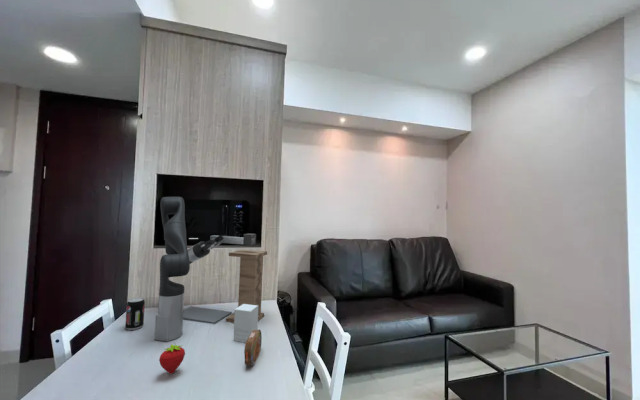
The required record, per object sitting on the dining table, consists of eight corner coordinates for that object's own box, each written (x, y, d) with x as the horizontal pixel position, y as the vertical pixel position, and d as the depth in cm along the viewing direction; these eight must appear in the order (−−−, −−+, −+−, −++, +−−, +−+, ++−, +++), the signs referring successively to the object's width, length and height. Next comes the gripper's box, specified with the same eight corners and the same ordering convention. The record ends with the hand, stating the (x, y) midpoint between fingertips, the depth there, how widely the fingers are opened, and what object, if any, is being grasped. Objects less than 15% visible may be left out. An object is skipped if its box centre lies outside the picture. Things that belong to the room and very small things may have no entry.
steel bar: (250, 245, 132) (251, 234, 132) (208, 242, 137) (209, 232, 138) (255, 244, 137) (256, 233, 137) (214, 241, 142) (215, 231, 143)
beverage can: (141, 329, 118) (143, 301, 118) (122, 331, 116) (124, 302, 116) (144, 323, 124) (146, 296, 125) (127, 325, 122) (129, 297, 122)
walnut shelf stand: (252, 325, 126) (255, 255, 127) (225, 321, 129) (228, 252, 131) (264, 316, 138) (267, 251, 139) (239, 312, 141) (241, 249, 142)
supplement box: (258, 335, 116) (259, 305, 117) (249, 343, 109) (250, 311, 110) (242, 333, 118) (243, 303, 119) (232, 340, 111) (234, 308, 112)
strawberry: (154, 375, 87) (156, 342, 87) (179, 365, 93) (180, 334, 93) (163, 382, 83) (164, 348, 84) (187, 371, 89) (189, 340, 89)
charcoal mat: (214, 324, 126) (214, 322, 126) (170, 317, 132) (170, 315, 132) (231, 313, 140) (231, 311, 140) (190, 307, 146) (191, 306, 146)
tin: (251, 370, 91) (252, 344, 91) (241, 370, 91) (243, 344, 91) (262, 348, 106) (262, 325, 106) (253, 347, 106) (254, 325, 106)
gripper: (185, 246, 135) (212, 230, 132) (203, 243, 149) (229, 229, 146) (191, 260, 134) (219, 244, 131) (209, 256, 148) (235, 241, 145)
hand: (224, 236), depth 138 cm, fingers closed on steel bar, 3 cm apart
